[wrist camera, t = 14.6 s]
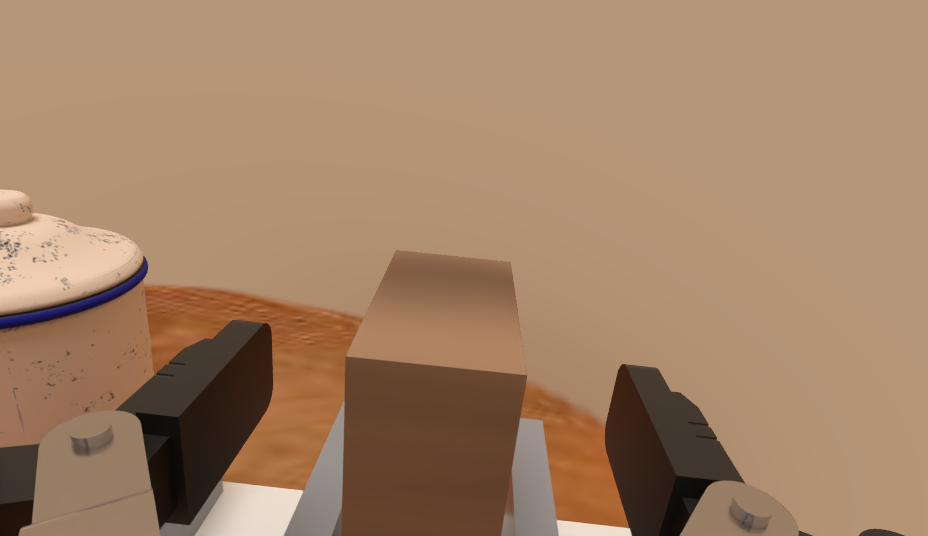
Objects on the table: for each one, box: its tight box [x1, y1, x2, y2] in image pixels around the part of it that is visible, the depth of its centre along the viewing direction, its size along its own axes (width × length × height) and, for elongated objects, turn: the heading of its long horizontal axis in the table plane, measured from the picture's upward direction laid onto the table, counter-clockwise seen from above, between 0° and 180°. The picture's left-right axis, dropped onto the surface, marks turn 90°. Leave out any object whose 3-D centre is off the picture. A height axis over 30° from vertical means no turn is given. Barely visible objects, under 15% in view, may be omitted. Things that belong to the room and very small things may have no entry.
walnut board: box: [341, 250, 527, 536], centre depth 13 cm, size 6×3×12 cm, turn 178°
